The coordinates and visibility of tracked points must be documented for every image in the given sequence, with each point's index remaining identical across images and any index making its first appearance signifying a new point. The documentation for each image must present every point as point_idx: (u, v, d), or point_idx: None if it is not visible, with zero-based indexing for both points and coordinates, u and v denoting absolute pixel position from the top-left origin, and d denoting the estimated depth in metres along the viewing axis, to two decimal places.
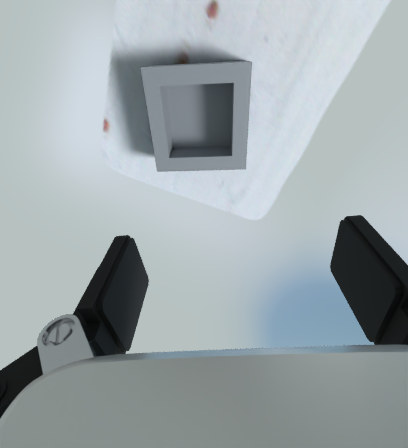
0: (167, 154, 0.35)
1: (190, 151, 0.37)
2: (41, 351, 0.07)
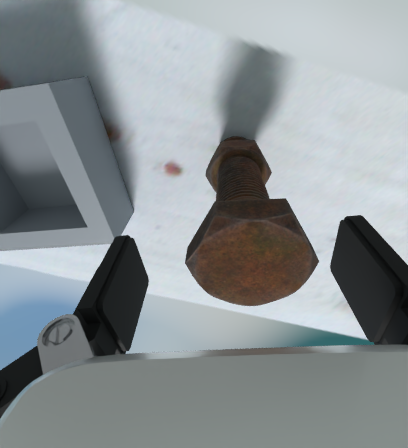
0: None
1: None
2: (41, 351, 0.07)
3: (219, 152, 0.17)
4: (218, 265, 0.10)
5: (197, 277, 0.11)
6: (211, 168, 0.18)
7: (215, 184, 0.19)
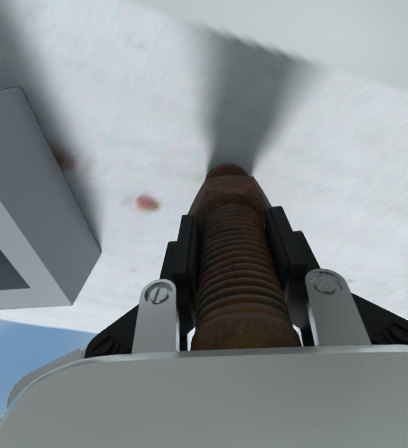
0: None
1: None
2: (148, 308, 0.08)
3: (203, 196, 0.12)
4: None
5: None
6: None
7: None
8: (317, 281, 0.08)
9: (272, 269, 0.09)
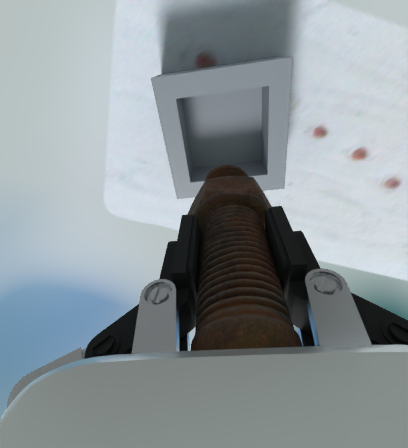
0: (180, 96, 0.24)
1: (183, 122, 0.28)
2: (148, 308, 0.08)
3: (203, 197, 0.12)
4: None
5: None
6: None
7: None
8: (317, 281, 0.08)
9: (272, 270, 0.09)
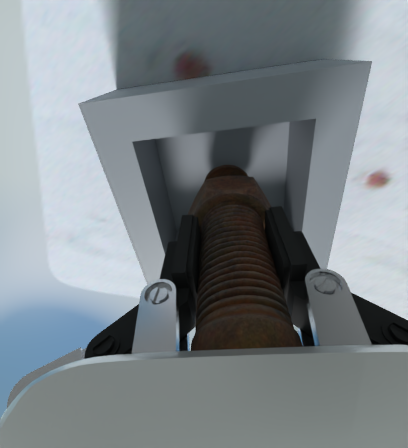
0: (141, 137, 0.12)
1: (155, 173, 0.16)
2: (148, 308, 0.08)
3: (203, 197, 0.12)
4: None
5: None
6: None
7: None
8: (317, 281, 0.08)
9: (272, 270, 0.09)
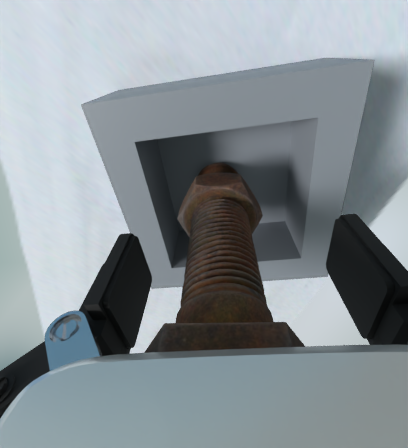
0: (319, 128, 0.12)
1: None
2: (49, 346, 0.07)
3: (193, 192, 0.13)
4: None
5: None
6: (183, 211, 0.14)
7: (190, 230, 0.14)
8: None
9: (251, 256, 0.10)
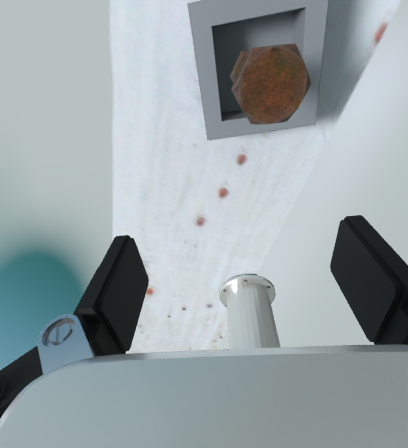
0: (307, 13, 0.23)
1: (269, 15, 0.26)
2: (41, 351, 0.07)
3: (240, 55, 0.25)
4: (252, 86, 0.18)
5: (239, 99, 0.18)
6: (235, 69, 0.25)
7: None
8: None
9: None
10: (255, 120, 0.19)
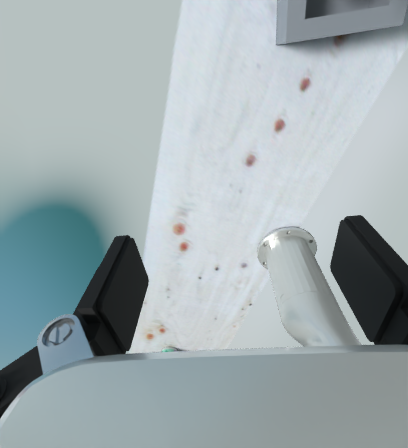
0: None
1: None
2: (41, 351, 0.07)
3: None
4: None
5: None
6: None
7: None
8: None
9: None
10: None
